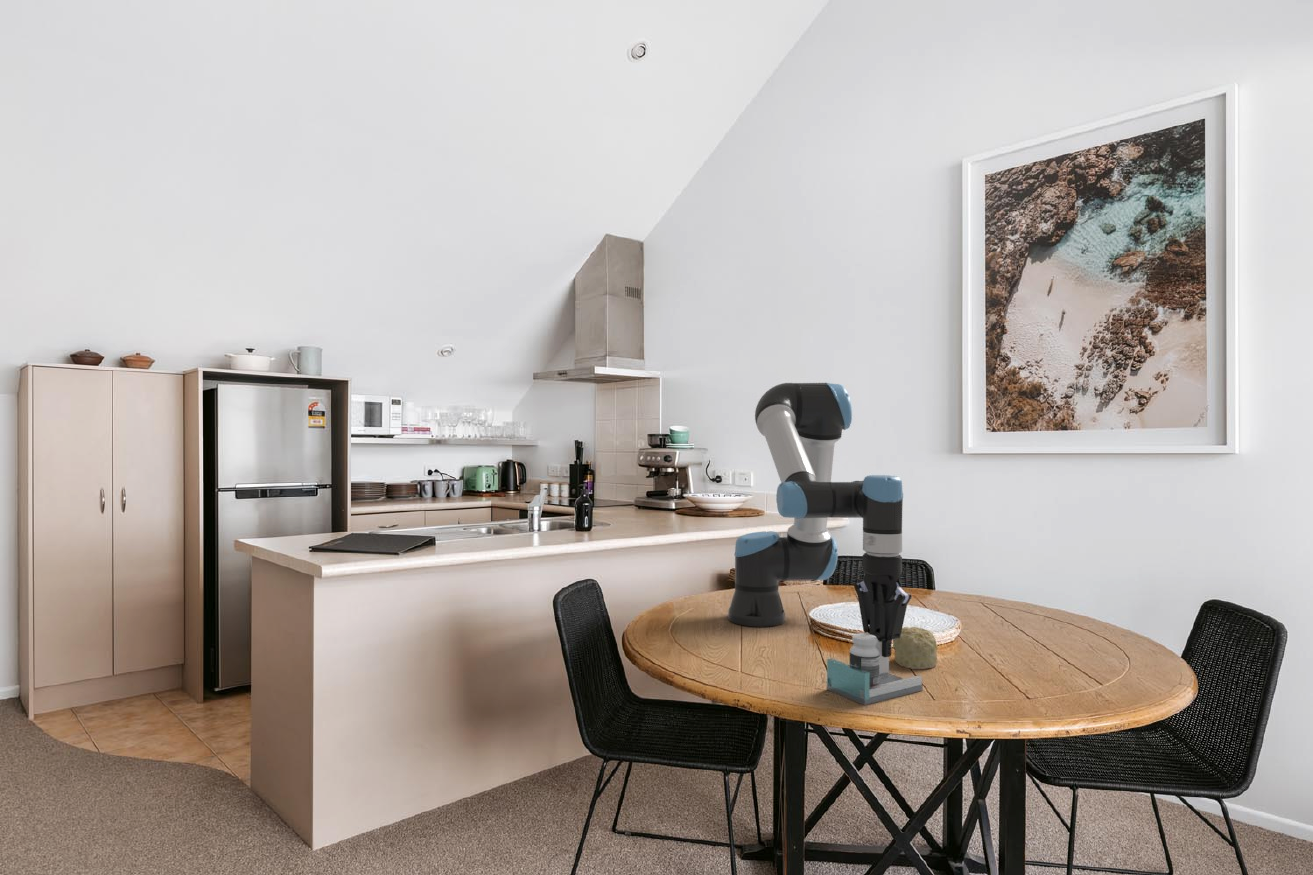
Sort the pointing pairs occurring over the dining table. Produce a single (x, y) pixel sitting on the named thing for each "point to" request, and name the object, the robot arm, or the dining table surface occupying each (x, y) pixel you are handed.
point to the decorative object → (915, 648)
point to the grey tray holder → (867, 684)
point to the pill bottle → (866, 656)
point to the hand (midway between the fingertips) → (881, 671)
